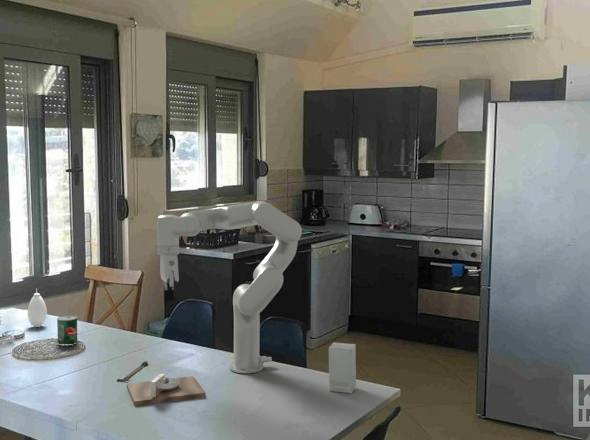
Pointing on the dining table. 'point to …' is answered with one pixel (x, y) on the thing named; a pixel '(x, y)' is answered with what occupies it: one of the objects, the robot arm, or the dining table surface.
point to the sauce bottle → (37, 310)
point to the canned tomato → (67, 329)
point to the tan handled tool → (132, 373)
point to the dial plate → (165, 392)
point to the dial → (163, 384)
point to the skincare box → (342, 367)
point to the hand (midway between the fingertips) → (168, 300)
